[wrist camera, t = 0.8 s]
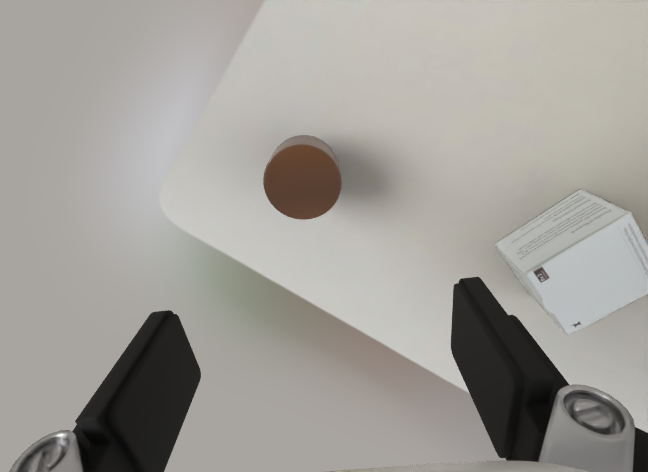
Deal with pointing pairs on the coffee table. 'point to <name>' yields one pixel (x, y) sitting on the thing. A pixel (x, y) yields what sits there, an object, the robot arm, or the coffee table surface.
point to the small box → (579, 260)
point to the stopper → (303, 177)
